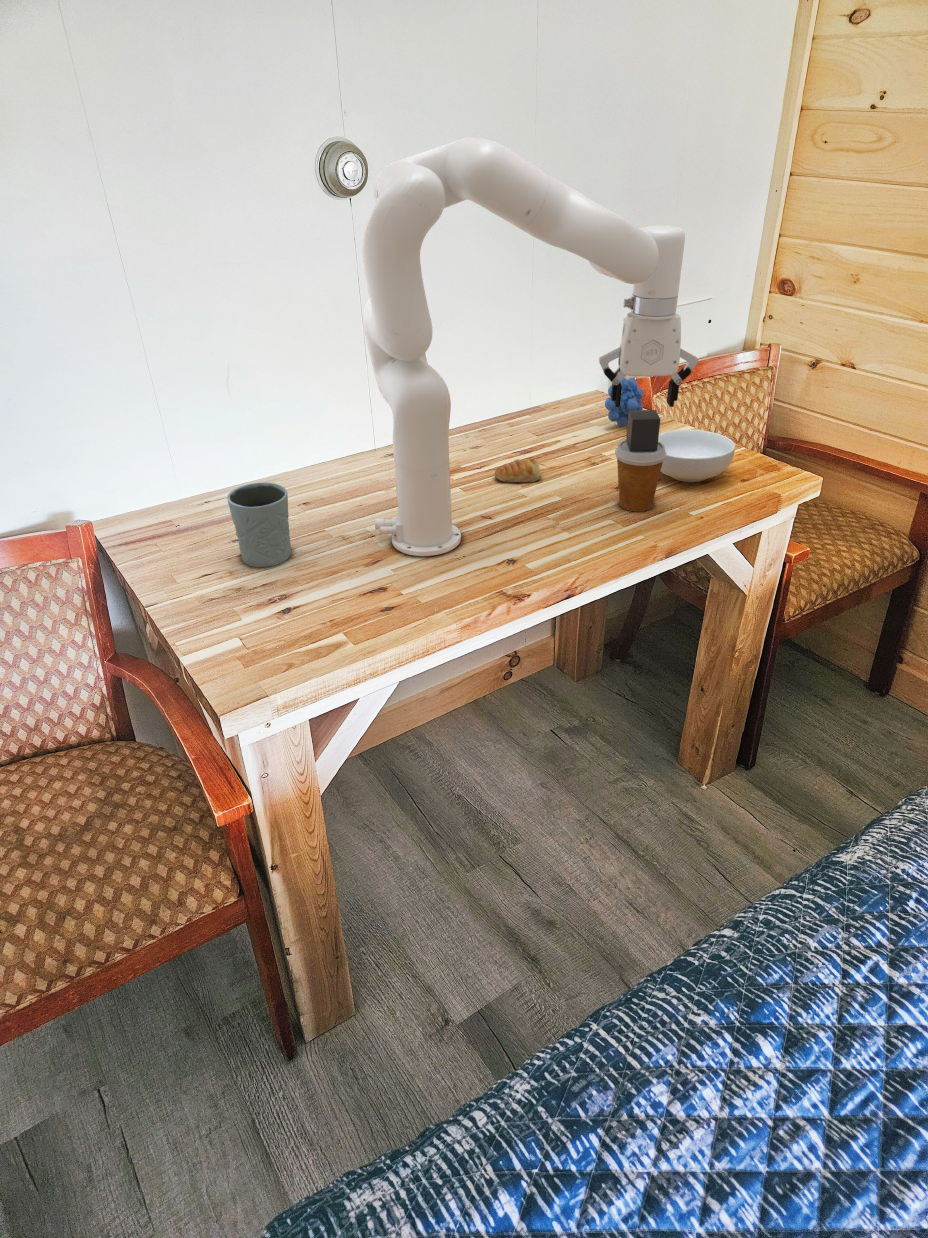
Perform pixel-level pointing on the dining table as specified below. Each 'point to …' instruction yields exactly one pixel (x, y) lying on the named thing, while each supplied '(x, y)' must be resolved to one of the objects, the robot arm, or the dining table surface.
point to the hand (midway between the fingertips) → (643, 404)
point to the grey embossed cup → (261, 523)
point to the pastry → (519, 471)
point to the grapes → (625, 401)
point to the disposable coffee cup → (638, 476)
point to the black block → (643, 430)
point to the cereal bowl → (695, 454)
